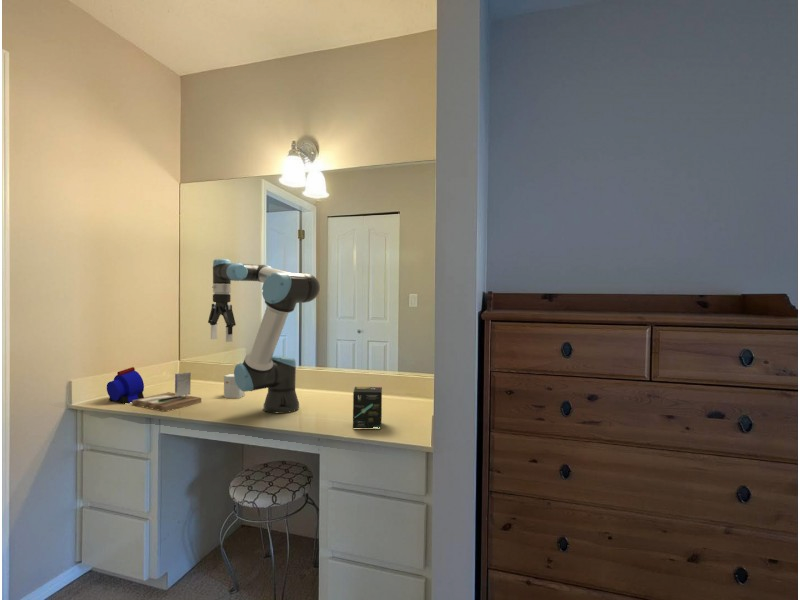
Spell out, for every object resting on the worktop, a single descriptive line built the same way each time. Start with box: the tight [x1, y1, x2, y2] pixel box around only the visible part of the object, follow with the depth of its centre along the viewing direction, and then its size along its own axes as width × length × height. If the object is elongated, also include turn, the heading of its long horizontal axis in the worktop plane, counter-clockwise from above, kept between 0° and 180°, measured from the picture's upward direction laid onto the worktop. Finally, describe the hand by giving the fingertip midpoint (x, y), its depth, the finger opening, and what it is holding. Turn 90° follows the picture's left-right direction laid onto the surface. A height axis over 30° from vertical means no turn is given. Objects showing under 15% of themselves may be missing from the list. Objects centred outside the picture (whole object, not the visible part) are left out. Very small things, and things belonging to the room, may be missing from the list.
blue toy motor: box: [106, 366, 145, 405], centre depth 207 cm, size 12×12×15 cm
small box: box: [223, 373, 246, 399], centre depth 219 cm, size 8×6×10 cm
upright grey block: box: [159, 371, 192, 401], centre depth 203 cm, size 13×2×11 cm, turn 140°
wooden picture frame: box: [132, 391, 202, 412], centre depth 204 cm, size 22×18×2 cm
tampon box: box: [352, 386, 383, 429], centre depth 176 cm, size 11×9×15 cm
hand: (221, 340), depth 205 cm, fingers open, 13 cm apart
